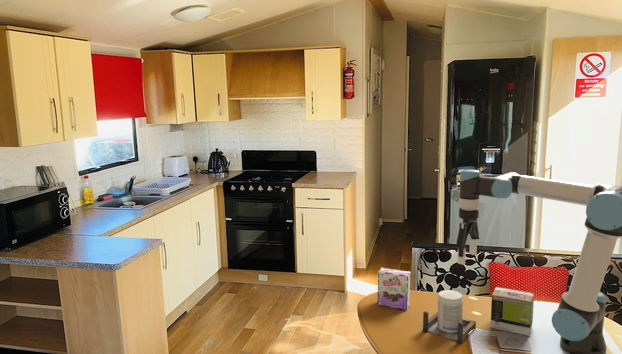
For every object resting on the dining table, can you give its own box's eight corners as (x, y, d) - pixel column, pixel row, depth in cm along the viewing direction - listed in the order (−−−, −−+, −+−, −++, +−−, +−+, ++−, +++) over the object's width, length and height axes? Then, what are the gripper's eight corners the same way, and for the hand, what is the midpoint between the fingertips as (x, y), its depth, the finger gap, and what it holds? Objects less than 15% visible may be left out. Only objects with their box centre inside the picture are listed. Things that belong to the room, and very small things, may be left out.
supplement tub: (466, 329, 192) (468, 295, 189) (450, 336, 187) (452, 301, 184) (447, 320, 200) (449, 287, 197) (432, 326, 195) (433, 293, 192)
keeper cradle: (476, 328, 194) (477, 310, 193) (461, 344, 182) (462, 324, 181) (438, 316, 204) (439, 299, 203) (421, 330, 193) (422, 312, 191)
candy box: (377, 305, 216) (377, 271, 213) (380, 300, 221) (380, 267, 218) (407, 310, 211) (408, 275, 208) (409, 305, 216) (410, 271, 213)
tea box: (532, 326, 195) (535, 292, 193) (529, 337, 187) (532, 302, 184) (494, 318, 203) (495, 285, 200) (489, 328, 194) (491, 294, 192)
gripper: (470, 201, 201) (468, 249, 205) (448, 213, 182) (446, 266, 185) (488, 203, 197) (486, 252, 200) (467, 216, 177) (465, 270, 181)
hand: (467, 259), depth 193 cm, fingers open, 13 cm apart
